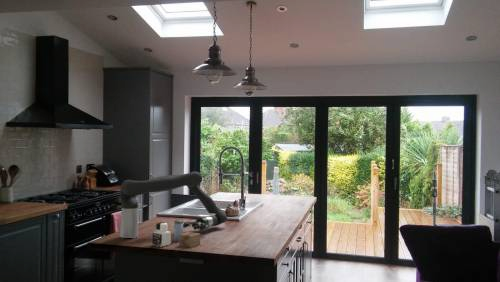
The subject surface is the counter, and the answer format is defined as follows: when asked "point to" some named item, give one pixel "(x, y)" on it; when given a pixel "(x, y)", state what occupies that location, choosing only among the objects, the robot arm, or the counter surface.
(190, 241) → the walnut block
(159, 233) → the medicine bottle
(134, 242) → the counter surface
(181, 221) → the spice jar
